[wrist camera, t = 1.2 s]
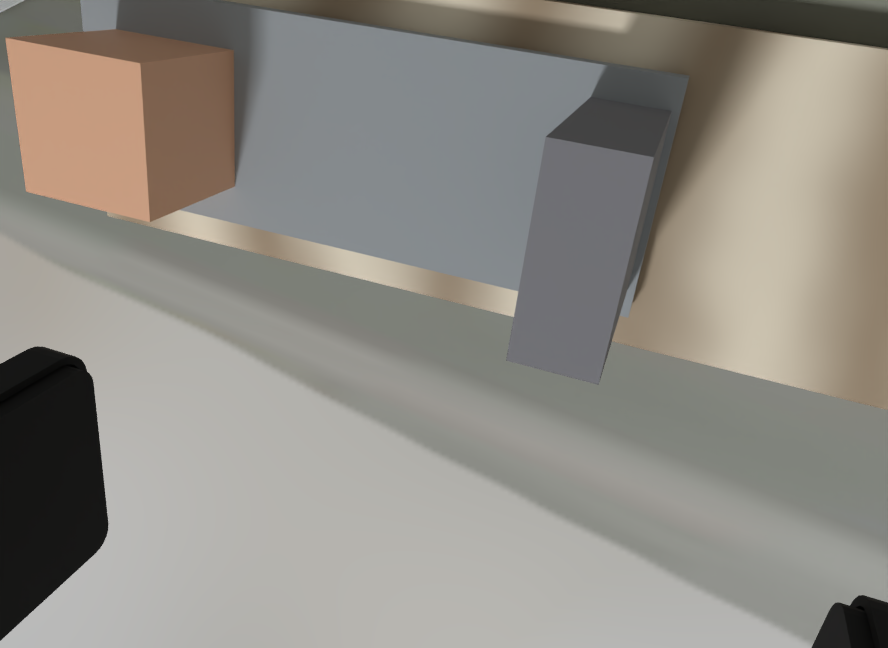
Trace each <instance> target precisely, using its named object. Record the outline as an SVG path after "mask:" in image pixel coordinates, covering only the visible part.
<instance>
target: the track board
mask: <svg viewBox="0 0 888 648" xmlns="http://www.w3.org/2000/svg"><path fill="white" fill-rule="evenodd" d="M223 1H230V2H236V3H242V4H248V5H254V6H261V7H267V8H273V9H279V10H285V11H292V12H298V13H304V14H310V15H316V16H323V17H329V18H335V19H341V20H347V21H354V22H360V23H366V24H372V25H378V26H385V27H391V28H397V29H403V30H409V31H416V32H422V33H428V34H434V35H440V36H447V37H453V38H459V39H465V40H472V41H478V42H484V43H490V44H496V45H503V46H509V47H515V48H521V49H527V50H534V51H540V52H546V53H552V54H558V55H565V56H571V57H577V58H583V59H589V60H596V61H602V62H608V63H614V64H620V65H627V66H633V67H639V68H645V69H651V70H658V71H664V72H670V73H676V74H683V75H689V80H688V84H687V88H686V92H685V96H684V100H683V104H682V108H681V112H680V115H679V119H678V123H677V127H676V131H675V135H674V139H673V143H672V147H671V151H670V155H669V159H668V163H667V167H666V171H665V175H664V179H663V183H662V187H661V191H660V195H659V199H658V203H657V207H656V210H655V214H654V218H653V222H652V226H651V230H650V234H649V238H648V242H647V246H646V250H645V254H644V258H643V262H642V266H641V270H640V274H639V278H638V282H637V286H636V290H635V294H634V298H633V302H632V306H631V309H630V313H629V317H628V318H627V317H623V316H619V319H618V322H617V326H616V329H615V332H614V336H613V339H612V341H613V342H617V343H621V344H625V345H629V346H633V347H637V348H641V349H645V350H649V351H653V352H657V353H661V354H665V355H669V356H673V357H677V358H681V359H685V360H689V361H693V362H697V363H701V364H705V365H709V366H713V367H717V368H721V369H725V370H729V371H733V372H737V373H741V374H745V375H749V376H753V377H757V378H761V379H765V380H769V381H773V382H777V383H781V384H785V385H790V386H794V387H798V388H802V389H806V390H810V391H814V392H818V393H822V394H826V395H830V396H834V397H838V398H842V399H846V400H850V401H854V402H858V403H862V404H866V405H870V406H874V407H878V408H882V409H886V410H888V48H882V47H875V46H868V45H861V44H854V43H847V42H840V41H834V40H827V39H820V38H813V37H806V36H799V35H792V34H785V33H778V32H771V31H764V30H757V29H750V28H743V27H736V26H729V25H722V24H715V23H708V22H702V21H695V20H688V19H681V18H674V17H667V16H660V15H653V14H646V13H639V12H632V11H625V10H618V9H611V8H604V7H597V6H590V5H583V4H576V3H570V2H563V1H556V0H223ZM107 215H108V216H110V217H114V218H118V219H122V220H126V221H130V222H134V223H138V224H142V225H146V226H150V227H154V228H159V229H163V230H167V231H171V232H175V233H179V234H183V235H187V236H191V237H195V238H199V239H203V240H207V241H211V242H215V243H219V244H223V245H227V246H231V247H235V248H239V249H243V250H247V251H251V252H255V253H259V254H263V255H267V256H271V257H275V258H279V259H283V260H287V261H291V262H295V263H299V264H303V265H307V266H311V267H315V268H319V269H323V270H327V271H331V272H335V273H339V274H343V275H347V276H351V277H355V278H359V279H363V280H368V281H372V282H376V283H380V284H384V285H388V286H392V287H396V288H400V289H404V290H408V291H412V292H416V293H420V294H424V295H428V296H432V297H436V298H440V299H444V300H448V301H452V302H456V303H460V304H464V305H468V306H472V307H476V308H480V309H484V310H488V311H492V312H496V313H500V314H504V315H508V316H512V317H514V313H515V308H516V302H517V296H518V291H515V290H511V289H506V288H502V287H498V286H494V285H490V284H486V283H481V282H477V281H473V280H469V279H465V278H461V277H456V276H452V275H448V274H444V273H440V272H436V271H431V270H427V269H423V268H419V267H415V266H411V265H406V264H402V263H398V262H394V261H390V260H386V259H381V258H377V257H373V256H369V255H365V254H361V253H357V252H352V251H348V250H344V249H340V248H336V247H332V246H327V245H323V244H319V243H315V242H311V241H307V240H302V239H298V238H294V237H290V236H286V235H282V234H277V233H273V232H269V231H265V230H261V229H257V228H252V227H248V226H244V225H240V224H236V223H232V222H227V221H223V220H219V219H215V218H211V217H207V216H202V215H198V214H194V213H190V212H186V211H182V210H178V211H175V212H173V213H171V214H168V215H166V216H164V217H161V218H159V219H156V220H154V221H152V222H147V221H143V220H139V219H135V218H131V217H127V216H123V215H119V214H115V213H111V212H107Z"/></svg>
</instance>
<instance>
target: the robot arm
mask: <svg viewBox="0 0 888 648" xmlns="http://www.w3.org/2000/svg"><path fill="white" fill-rule="evenodd" d="M107 531H108V517H107V507H106V498H105V488H104V480H103V470H102V460H101V450H100V441H99V432H98V422H97V412H96V403H95V394H94V384H93V379H92V377H91V375H90V374H89V373H88V372H87V370H86V366H85V364H84V363H83V361H82V360H81V359H79V358H77V357H75V356H72V355H68V354H65V353H61V352H58V351H55V350H52V349H48V348H45V347H33V348H30V349H28V350H26V351H24V352H22V353H20V354H18V355H16V356H15V357H12V358H11V359H9V360H7V361H5V362H3V363H1V364H0V640H2V639H3V638H4V637H5V636H6V635H7V634H8V633H9V632H10V631H11V630H12V629H14V627H16V626H17V625H18V624H19V623H20V622H21V621H22V620H23V619H24V618H25V617H27V616H28V615H29V614H30V613H31V612H32V611H33V610H34V609H35V608H36V607H37V606H39V604H41V603H42V602H43V601H44V600H45V599H46V598H47V597H48V596H49V595H51V594H52V593H53V592H54V591H55V590H56V589H57V588H58V587H59V586H60V585H61V584H63V582H65V581H66V580H67V579H68V578H69V577H70V576H71V575H72V574H73V573H74V572H76V571H77V570H78V569H79V568H80V567H81V566H82V565H83V564H84V563H85V562H86V561H88V559H90V558H91V557H92V556H93V555H94V554H95V553H96V552H97V551H98V550H99V549H100V547H101V546H102V544H103V542H104V540H105V538H106V536H107ZM812 648H888V603H887V602H884V601H880V600H877V599H874V598H870V597H867V596H864V595H862V596H858V597H857V598H855V599H854V600H853V602H852V604H851V605H850V606H848V605H845V604H842V603H835V604H834V605H833V606H832V607H831V609H830V611H829V613H828V615H827V617H826V619H825V621H824V623H823V625H822V627H821V629H820V631H819V633H818V635H817V638H816V640H815V642H814V644H813V646H812Z"/></svg>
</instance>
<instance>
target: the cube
mask: <svg viewBox="0 0 888 648" xmlns="http://www.w3.org/2000/svg"><path fill="white" fill-rule="evenodd" d="M6 45H7V52H8V60H9V67H10V75H11V82H12V89H13V97H14V104H15V112H16V119H17V126H18V134H19V141H20V149H21V156H22V163H23V171H24V178H25V186H26V192H30V193H34V194H38V195H42V196H46V197H50V198H54V199H58V200H62V201H66V202H70V203H74V204H78V205H82V206H86V207H90V208H94V209H98V210H103V211H107V212H111V213H115V214H119V215H123V216H127V217H131V218H135V219H139V220H143V221H147V222H152V221H154V220H156V219H159V218H161V217H164V216H166V215H168V214H171V213H173V212H175V211H178V210H180V209H183V208H185V207H187V206H190V205H192V204H194V203H197V202H199V201H202V200H204V199H206V198H209V197H211V196H213V195H216V194H218V193H220V192H223V191H225V190H228V189H230V188H232V187H235V139H234V50H230V49H224V48H219V47H213V46H208V45H202V44H196V43H191V42H185V41H180V40H174V39H168V38H163V37H157V36H152V35H146V34H140V33H135V32H129V31H123V30H118V29H111V30H99V31H86V32H73V33H61V34H48V35H35V36H22V37H10V38H6Z"/></svg>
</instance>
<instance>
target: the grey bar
mask: <svg viewBox="0 0 888 648" xmlns="http://www.w3.org/2000/svg"><path fill="white" fill-rule="evenodd" d="M80 2H81V13H82V24H83V32H86V31H99V30H111V29H118V30H123V31H129V32H135V33H140V34H146V35H152V36H157V37H163V38H168V39H174V40H180V41H185V42H191V43H196V44H202V45H208V46H213V47H219V48H224V49H230V50H234V139H235V187H232V188H230V189H228V190H225V191H223V192H220V193H218V194H216V195H213V196H211V197H209V198H206V199H204V200H202V201H199V202H197V203H194V204H192V205H190V206H187V207H185V208H183V209H180V210H182V211H186V212H190V213H194V214H198V215H202V216H207V217H211V218H215V219H219V220H223V221H227V222H232V223H236V224H240V225H244V226H248V227H252V228H257V229H261V230H265V231H269V232H273V233H277V234H282V235H286V236H290V237H294V238H298V239H302V240H307V241H311V242H315V243H319V244H323V245H327V246H332V247H336V248H340V249H344V250H348V251H352V252H357V253H361V254H365V255H369V256H373V257H377V258H381V259H386V260H390V261H394V262H398V263H402V264H406V265H411V266H415V267H419V268H423V269H427V270H431V271H436V272H440V273H444V274H448V275H452V276H456V277H461V278H465V279H469V280H473V281H477V282H481V283H486V284H490V285H494V286H498V287H502V288H506V289H511V290H515V291H518V296H517V302H516V308H515V313H514V319H513V325H512V330H511V336H510V342H509V347H508V353H507V359H506V360H507V361H510V362H514V363H518V364H522V365H526V366H529V367H533V368H537V369H541V370H545V371H548V372H552V373H556V374H560V375H564V376H567V377H571V378H575V379H579V380H583V381H586V382H590V383H594V384H598V385H599V382H600V378H601V375H602V372H603V368H604V365H605V362H606V359H607V355H608V352H609V349H610V345H611V342H612V339H613V336H614V332H615V329H616V326H617V322H618V319H619V316H623V317H627V318H628V317H629V313H630V309H631V306H632V302H633V298H634V294H635V290H636V286H637V282H638V278H639V274H640V270H641V266H642V262H643V258H644V254H645V250H646V246H647V242H648V238H649V234H650V230H651V226H652V222H653V218H654V214H655V210H656V207H657V203H658V199H659V195H660V191H661V187H662V183H663V179H664V175H665V171H666V167H667V163H668V159H669V155H670V151H671V147H672V143H673V139H674V135H675V131H676V127H677V123H678V119H679V115H680V112H681V108H682V104H683V100H684V96H685V92H686V88H687V84H688V80H689V75H683V74H676V73H670V72H664V71H658V70H651V69H645V68H639V67H633V66H627V65H620V64H614V63H608V62H602V61H596V60H589V59H583V58H577V57H571V56H565V55H558V54H552V53H546V52H540V51H534V50H527V49H521V48H515V47H509V46H503V45H496V44H490V43H484V42H478V41H472V40H465V39H459V38H453V37H447V36H440V35H434V34H428V33H422V32H416V31H409V30H403V29H397V28H391V27H385V26H378V25H372V24H366V23H360V22H354V21H347V20H341V19H335V18H329V17H323V16H316V15H310V14H304V13H298V12H292V11H285V10H279V9H273V8H267V7H261V6H254V5H248V4H242V3H236V2H230V1H223V0H80Z"/></svg>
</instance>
